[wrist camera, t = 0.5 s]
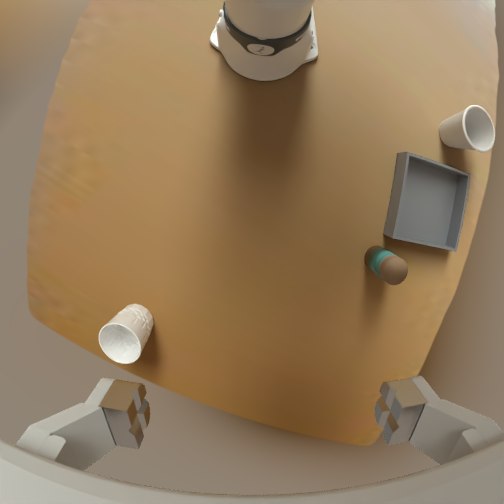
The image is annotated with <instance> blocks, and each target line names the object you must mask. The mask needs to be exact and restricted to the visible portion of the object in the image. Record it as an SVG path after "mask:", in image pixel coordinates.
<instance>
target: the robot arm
mask: <svg viewBox="0 0 504 504" xmlns="http://www.w3.org/2000/svg"><path fill="white" fill-rule="evenodd" d="M314 1H315V0H224V1H223V4H224V5H223V9H221V10H220V12H219V16H220V18H219V20H218V22H217V24H216V26H215V28H214V30H213V32H212V34H211V36H210V43H211V45H212V46H214V47H215V48H216V49H218V50H219V51H220V52H221V53H222V54H223V56H224V58H225V60H226V62H227V63H228V64H229V66H230V67H231V68H232V69H233V70H234V71H236V72H237V73H239V74H240V75H242V76H244V77H247V78H250V79H253V80H259V81H271V80H277V79H280V78H283V77H286V76H288V75H289V74H291V73H292V72H294V71H295V70H296V69H297V68H298V67H299V66H300V65H302V64H303V63H307V62H310V61H312V60H314V59H316V58H317V56H318V47H317V38H316V29H315V21H314V14H313V3H314ZM311 47H312V48H313V49H311ZM380 393H381V395H382V396H381V397H380V398H379V399H378V400H377V402H376V406H375V418H376V421H377V423H378V425H379V426H381V427H383V428H384V429H383V432H382V434H383V436H384V438H385V440H386V443H387V445H394V444H399V443H404V442H409V443H411V444H412V445H413V446H415V447H416V448H417V449H419V450H420V451H422V452H423V453H424V454H426V455H427V456H429V457H430V458H432V459H433V460H435V461H436V462H438V463H439V464H440V465H438V466H435V467H433V468H429V469H426V470H422V471H419V472H416V473H412V474H408V475H405V476H401V477H397V478H393V479H389V480H385V481H380V482H375V483H371V484H365V485H360V486H354V487H348V488H341V489H335V490H327V491H318V492H309V493H297V494H280V495H279V494H278V495H227V494H208V493H197V492H186V491H179V490H171V489H164V488H157V487H151V486H146V485H140V484H135V483H130V482H126V481H120V480H117V479H112V478H108V477H104V476H101V475H97V474H93V473H90V472H86V471H84V470H85V469H87V468H88V467H89V466H91V465H92V464H93V463H95V462H96V461H98V460H99V459H100V458H102V457H103V456H104V455H106V454H107V453H108V452H110V451H111V450H112V449H114V448H115V447H116V446H122V447H128V448H135V449H139V448H140V445H141V442H142V440H143V437H144V435H143V431H142V430H144V429H145V428H147V426H148V424H149V419H150V407H149V403H148V402H147V401H146V400H145V399H144V397H145V395H146V389H145V386H144V385H143V384H142V383H135V382H129V381H123V380H115V379H110V378H102V379H101V380H100V381H99V383H98V384H97V386H96V387H95V389H94V390H93V392H92V393H91V395H90V396H89V398H88V399H87V401H86V402H85V404H83V403H80V404H78V405H75V406H73V407H71V408H69V409H67V410H64V411H62V412H60V413H57V414H55V415H53V416H51V417H48V418H46V419H44V420H41V421H39V422H37V423H35V424H32V425H30V426H29V427H28V429H27V430H26V431H25V433H24V434H23V435H22V437H21V438H20V439H19V441H18V442H17V443H16V445H13V444H11V443H9V442H7V441H5V440H3V439H1V438H0V504H504V433H503V431H502V430H501V429H500V428H499V426H498V425H497V424H496V423H495V422H494V421H493V419H490V418H488V417H485V416H483V415H480V414H478V413H475V412H473V411H470V410H468V409H466V408H463V407H461V406H458V405H456V404H454V403H451V402H449V401H447V400H440V399H439V397H438V396H437V395H436V393H435V392H434V391H433V390H432V388H431V387H430V386H429V384H428V383H427V382H426V381H425V379H424V378H423V377H422V376H416V377H410V378H407V379H401V380H394V381H388V382H383V384H382V385H381V388H380Z"/></svg>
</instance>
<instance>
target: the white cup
mask: <svg viewBox="0 0 504 504" xmlns="http://www.w3.org/2000/svg"><path fill="white" fill-rule="evenodd" d="M153 325H154V322H153V316H152V315H151V313H150V312H149V310H148V309H146V308H145V307H143V306H142V305H138V304H131V305H128V306H126V307H125V308H124V309H123V310H122V311H120V312H119V313H118V314H116V315H115V316H114V317H113V318H112V319H111V320H110V321H109V322H108V323H107V324H106V325H105V326H104V327H103V328H102V329H101V330H100V333H99V343H100V346H101V348H102V350H103V351H104V353H105V354H106V355H107V356H108V357H109V358H111V359H112V360H114V361H116V362H118V363H122V364H130V363H133V362H135V361H136V360H137V359H138V358H139V357H140V354H141V352H142V350H143V348H144V346H145V344H146V342H147V340H148V338H149V335H150V332H151V330H152V328H153Z"/></svg>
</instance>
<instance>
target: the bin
mask: <svg viewBox="0 0 504 504" xmlns="http://www.w3.org/2000/svg"><path fill="white" fill-rule="evenodd" d="M469 182H470V174H468V173H465V172H463V171H460V170H458V169H455V168H453V167H450V166H447V165H444V164H442V163H439V162H436V161H433V160H430V159H427V158H425V157H422V156H419V155H416V154H412V153H409V152H403V153H397V159H396V166H395V173H394V179H393V186H392V191H391V197H390V203H389V208H388V213H387V219H386V223H385V228H384V233H383V234H384V235H386V236H388V237H391V238H393V239H398V240H403V241H408V242H413V243H418V244H423V245H427V246H432V247H437V248H442V249H446V250H451V251H455V252H456V251H457V246H458V242H459V238H460V233H461V228H462V223H463V218H464V213H465V207H466V201H467V195H468V189H469Z"/></svg>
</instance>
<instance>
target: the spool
mask: <svg viewBox="0 0 504 504" xmlns="http://www.w3.org/2000/svg"><path fill="white" fill-rule="evenodd" d="M365 264H366V265H367V266H368V267H369V268H370V269H371V270H372V271H373V272H374V273H376V274H377V275H378V276H379V277H381V278H382V279H383V280H385V281H386V282H387V283H388V284H390V285H397V284H400V283H401V282H402V281H403V280H404V279H405V278H406V276H407V273H408V266H407V264H406V262H405V261H404V260H403V259H401V258H399V257H398V256H396V255H395V254H393V253H391V252H389V251H388V250H386V249H384V248H382V247H380V246H373V247H371V248H369V249H368V250H367V252H366V254H365Z"/></svg>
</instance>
